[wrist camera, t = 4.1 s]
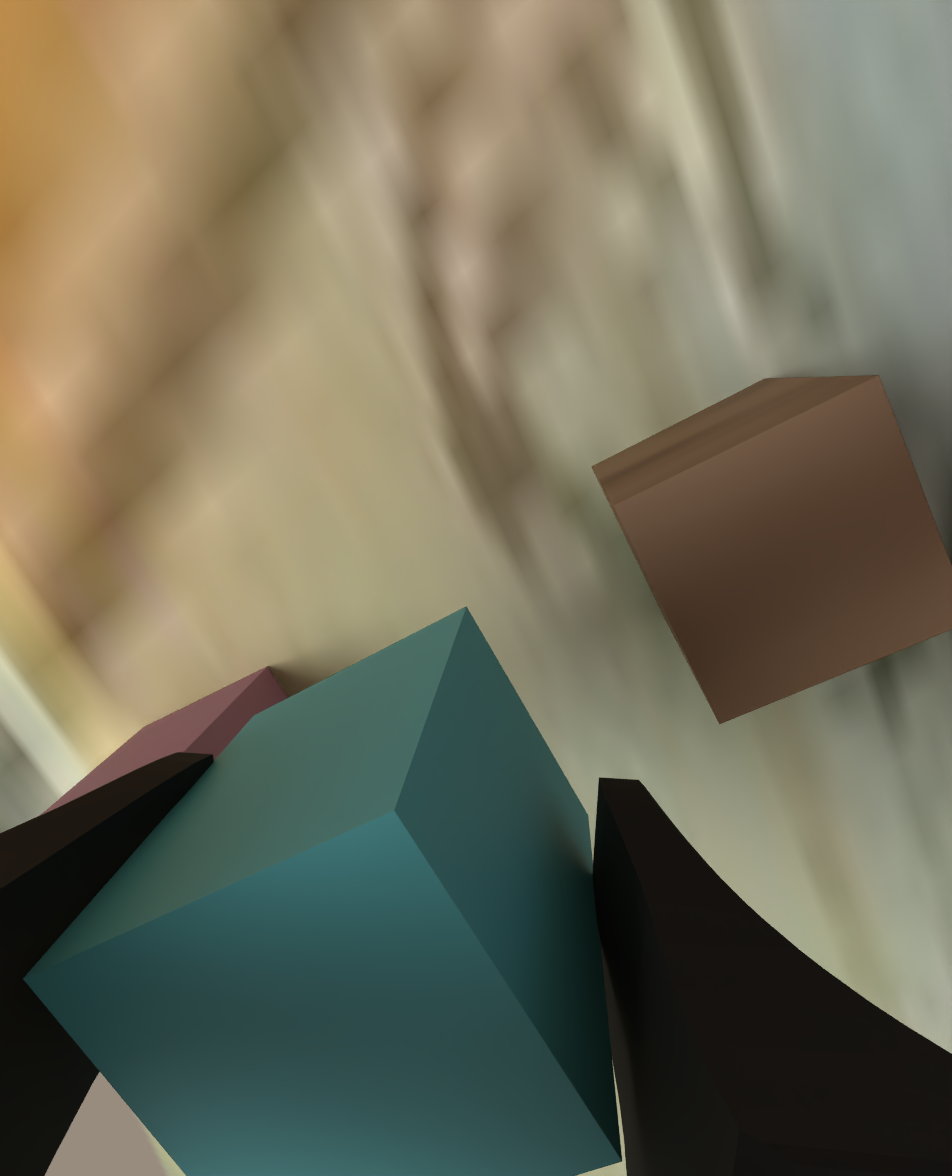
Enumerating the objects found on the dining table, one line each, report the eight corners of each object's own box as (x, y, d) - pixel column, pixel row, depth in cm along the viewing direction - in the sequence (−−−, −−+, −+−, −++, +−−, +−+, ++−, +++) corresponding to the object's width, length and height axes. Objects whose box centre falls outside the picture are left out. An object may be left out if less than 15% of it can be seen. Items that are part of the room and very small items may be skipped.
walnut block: (833, 543, 18) (972, 620, 12) (665, 619, 19) (719, 724, 13) (764, 378, 17) (879, 375, 11) (591, 466, 18) (613, 505, 12)
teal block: (588, 815, 13) (622, 1161, 7) (380, 902, 14) (264, 1269, 8) (466, 606, 12) (393, 810, 6) (253, 715, 13) (23, 978, 7)
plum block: (347, 793, 21) (273, 947, 15) (224, 846, 22) (111, 1010, 16) (268, 666, 20) (157, 778, 14) (143, 726, 21) (-8, 855, 15)
